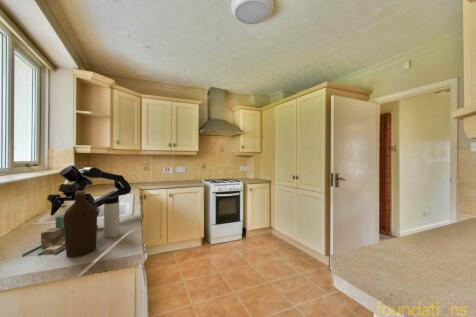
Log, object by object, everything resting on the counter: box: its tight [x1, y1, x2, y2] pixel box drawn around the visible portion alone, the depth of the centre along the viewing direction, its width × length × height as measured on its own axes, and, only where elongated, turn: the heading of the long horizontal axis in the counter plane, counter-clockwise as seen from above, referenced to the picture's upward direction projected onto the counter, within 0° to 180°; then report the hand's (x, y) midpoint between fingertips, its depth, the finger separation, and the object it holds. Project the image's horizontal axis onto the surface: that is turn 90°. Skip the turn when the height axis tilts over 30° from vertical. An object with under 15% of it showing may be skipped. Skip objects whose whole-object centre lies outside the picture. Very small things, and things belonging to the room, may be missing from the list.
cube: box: [40, 227, 62, 245], centre depth 87 cm, size 5×5×5 cm
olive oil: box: [63, 190, 98, 259], centre depth 80 cm, size 11×11×25 cm
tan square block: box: [56, 240, 65, 247], centre depth 86 cm, size 4×4×2 cm
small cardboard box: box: [45, 245, 63, 254], centre depth 81 cm, size 4×4×2 cm
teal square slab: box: [40, 214, 65, 248], centre depth 89 cm, size 4×10×10 cm, turn 4°
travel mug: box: [103, 194, 121, 239], centre depth 97 cm, size 6×7×20 cm
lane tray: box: [21, 239, 66, 257], centre depth 87 cm, size 12×19×2 cm, turn 4°
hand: (62, 214), depth 93 cm, fingers open, 9 cm apart
